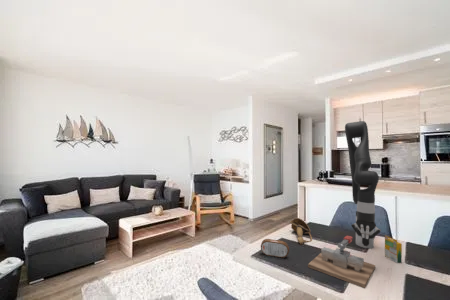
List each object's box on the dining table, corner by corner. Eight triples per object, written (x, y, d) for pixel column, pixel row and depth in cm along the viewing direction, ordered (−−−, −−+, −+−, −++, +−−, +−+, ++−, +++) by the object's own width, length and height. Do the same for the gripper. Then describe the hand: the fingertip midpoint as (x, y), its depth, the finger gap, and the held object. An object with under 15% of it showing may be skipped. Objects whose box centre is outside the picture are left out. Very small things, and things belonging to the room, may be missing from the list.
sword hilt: (313, 223, 156) (292, 214, 159) (318, 236, 132) (294, 224, 136) (307, 236, 157) (287, 226, 160) (311, 251, 133) (287, 239, 137)
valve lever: (346, 242, 120) (346, 235, 120) (352, 243, 118) (352, 236, 118) (337, 251, 109) (337, 243, 109) (344, 253, 107) (344, 245, 107)
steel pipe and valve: (324, 256, 117) (324, 244, 117) (364, 269, 105) (364, 256, 105) (320, 260, 113) (320, 248, 113) (361, 274, 100) (361, 260, 100)
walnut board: (324, 252, 125) (324, 249, 125) (375, 268, 108) (375, 265, 108) (308, 267, 109) (308, 264, 109) (364, 288, 93) (364, 284, 93)
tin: (289, 256, 120) (289, 241, 120) (288, 259, 117) (288, 243, 117) (261, 252, 125) (261, 237, 125) (260, 255, 122) (260, 239, 122)
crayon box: (402, 262, 114) (402, 240, 114) (397, 263, 114) (397, 240, 114) (389, 256, 121) (389, 234, 121) (384, 256, 121) (384, 235, 121)
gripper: (383, 211, 110) (383, 247, 110) (352, 207, 119) (352, 239, 119) (380, 215, 104) (380, 252, 104) (349, 209, 113) (348, 243, 113)
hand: (365, 245), depth 111 cm, fingers closed
